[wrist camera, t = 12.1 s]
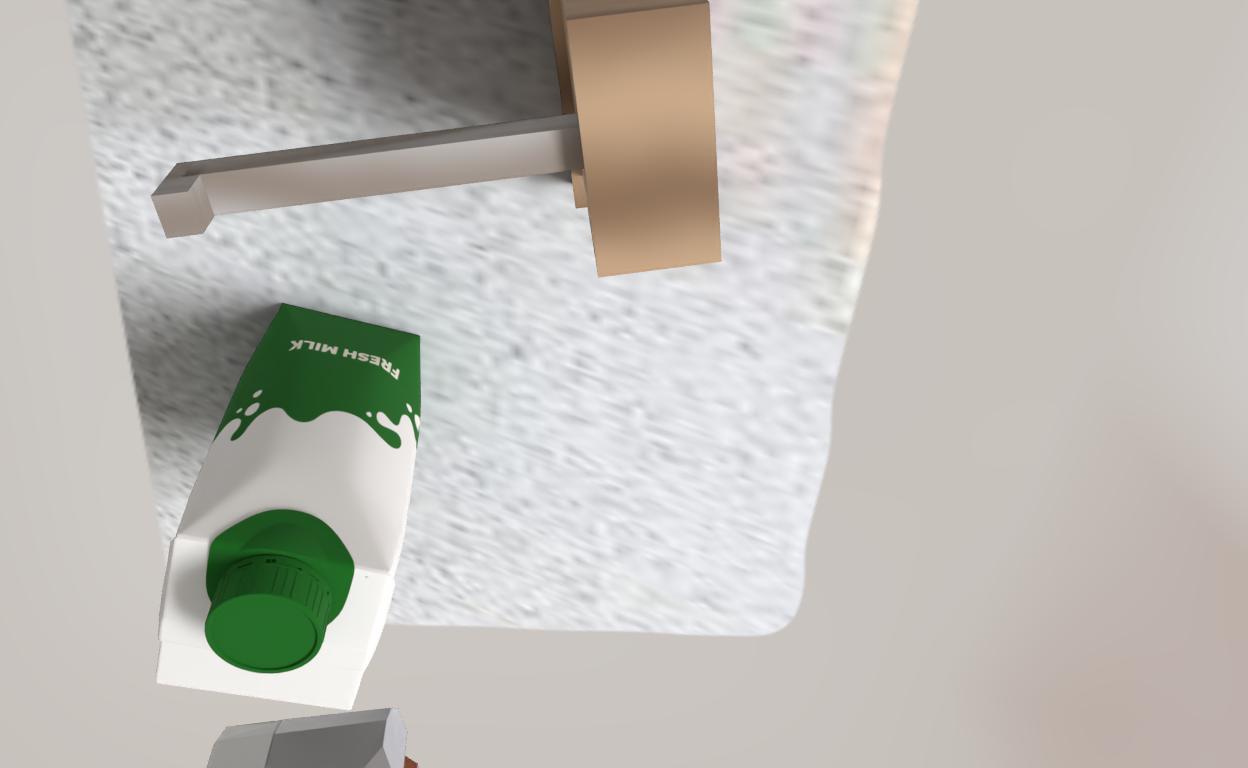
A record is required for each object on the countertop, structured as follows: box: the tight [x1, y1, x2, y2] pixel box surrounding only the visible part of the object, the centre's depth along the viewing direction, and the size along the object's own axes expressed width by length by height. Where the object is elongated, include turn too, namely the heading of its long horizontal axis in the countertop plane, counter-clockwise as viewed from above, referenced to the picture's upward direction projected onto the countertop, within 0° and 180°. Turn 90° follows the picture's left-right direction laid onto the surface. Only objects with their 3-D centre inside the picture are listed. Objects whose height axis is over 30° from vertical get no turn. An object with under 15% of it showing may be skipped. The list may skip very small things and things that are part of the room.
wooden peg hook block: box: [151, 0, 721, 277], centre depth 38 cm, size 12×20×14 cm, turn 96°
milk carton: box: [155, 304, 421, 710], centre depth 44 cm, size 9×9×20 cm
